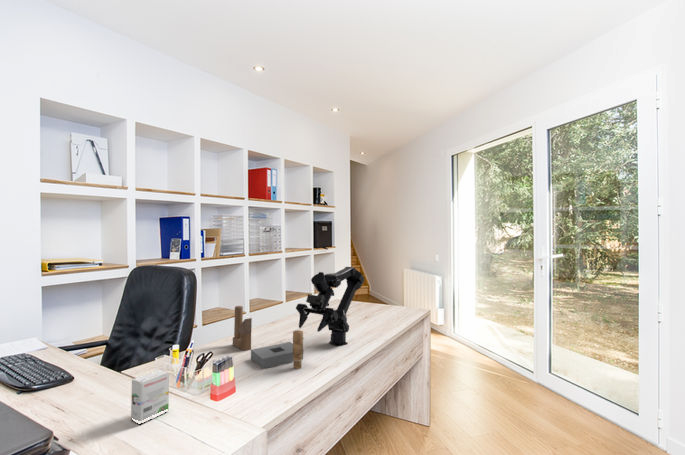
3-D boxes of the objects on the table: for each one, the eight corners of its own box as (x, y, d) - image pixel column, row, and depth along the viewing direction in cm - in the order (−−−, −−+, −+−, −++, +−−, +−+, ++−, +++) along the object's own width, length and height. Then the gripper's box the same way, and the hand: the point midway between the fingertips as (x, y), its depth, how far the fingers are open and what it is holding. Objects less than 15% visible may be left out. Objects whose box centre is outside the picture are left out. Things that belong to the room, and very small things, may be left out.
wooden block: (244, 351, 152) (244, 310, 152) (232, 345, 160) (232, 306, 160) (251, 349, 155) (252, 309, 155) (239, 343, 162) (240, 305, 162)
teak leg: (299, 364, 139) (300, 329, 139) (304, 368, 136) (305, 332, 136) (290, 366, 136) (291, 331, 136) (295, 370, 133) (296, 334, 133)
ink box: (159, 407, 104) (160, 368, 104) (169, 412, 102) (170, 372, 102) (130, 420, 97) (130, 378, 97) (140, 426, 94) (140, 383, 95)
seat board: (289, 350, 154) (289, 341, 154) (303, 359, 144) (303, 349, 144) (250, 359, 143) (250, 349, 143) (262, 369, 134) (262, 358, 134)
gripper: (298, 284, 152) (282, 315, 142) (335, 289, 143) (320, 322, 133) (308, 299, 158) (293, 329, 149) (344, 304, 150) (330, 337, 140)
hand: (308, 329), depth 142 cm, fingers open, 9 cm apart
